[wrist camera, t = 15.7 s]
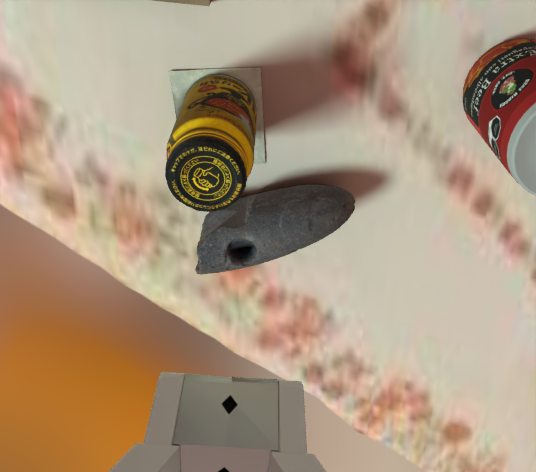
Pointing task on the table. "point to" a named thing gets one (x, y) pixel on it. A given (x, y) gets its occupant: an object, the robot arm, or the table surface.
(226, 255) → the perforated stone tool
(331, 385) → the table surface
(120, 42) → the table surface
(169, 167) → the condiment
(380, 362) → the table surface
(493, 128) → the canned food
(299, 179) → the table surface
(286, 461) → the robot arm
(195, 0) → the walnut board
